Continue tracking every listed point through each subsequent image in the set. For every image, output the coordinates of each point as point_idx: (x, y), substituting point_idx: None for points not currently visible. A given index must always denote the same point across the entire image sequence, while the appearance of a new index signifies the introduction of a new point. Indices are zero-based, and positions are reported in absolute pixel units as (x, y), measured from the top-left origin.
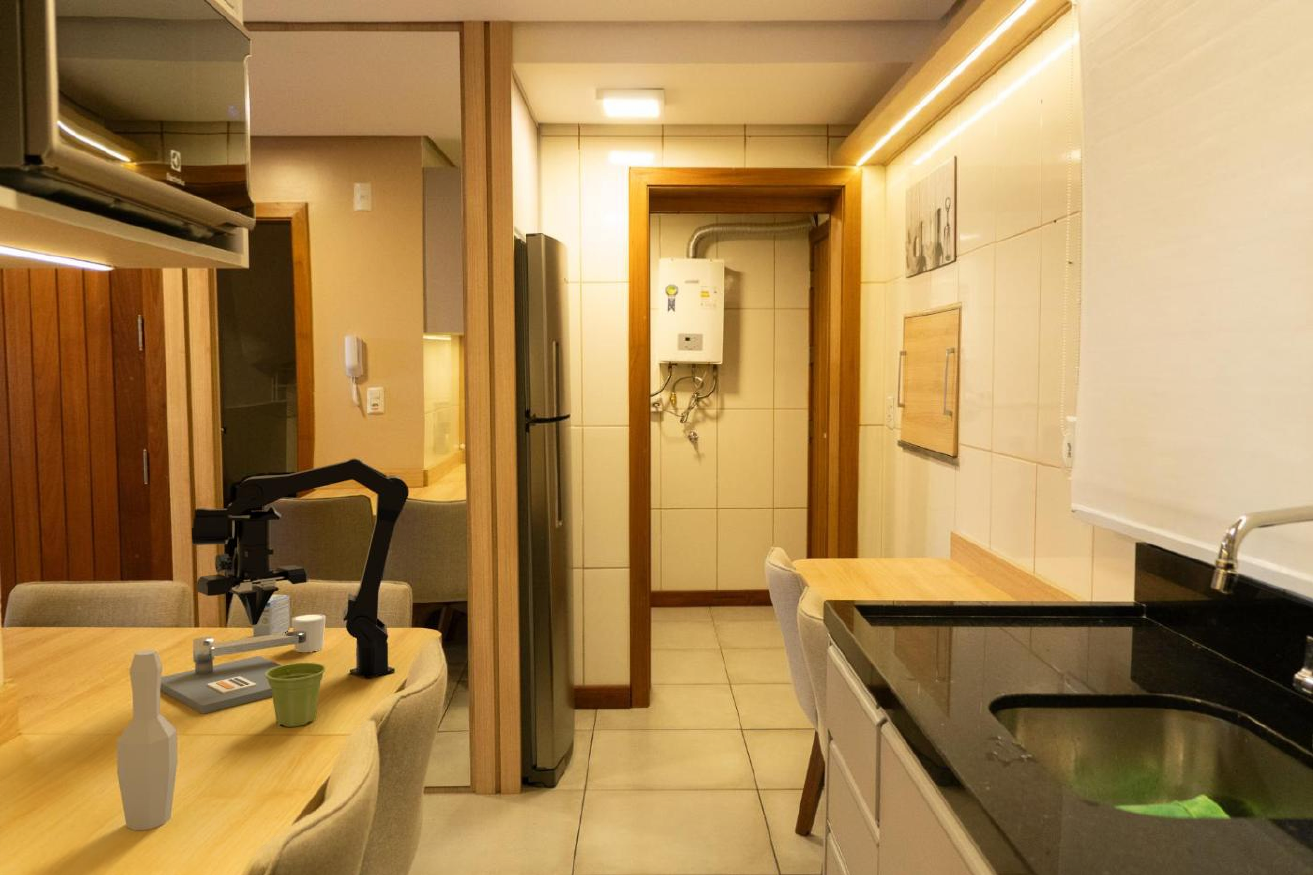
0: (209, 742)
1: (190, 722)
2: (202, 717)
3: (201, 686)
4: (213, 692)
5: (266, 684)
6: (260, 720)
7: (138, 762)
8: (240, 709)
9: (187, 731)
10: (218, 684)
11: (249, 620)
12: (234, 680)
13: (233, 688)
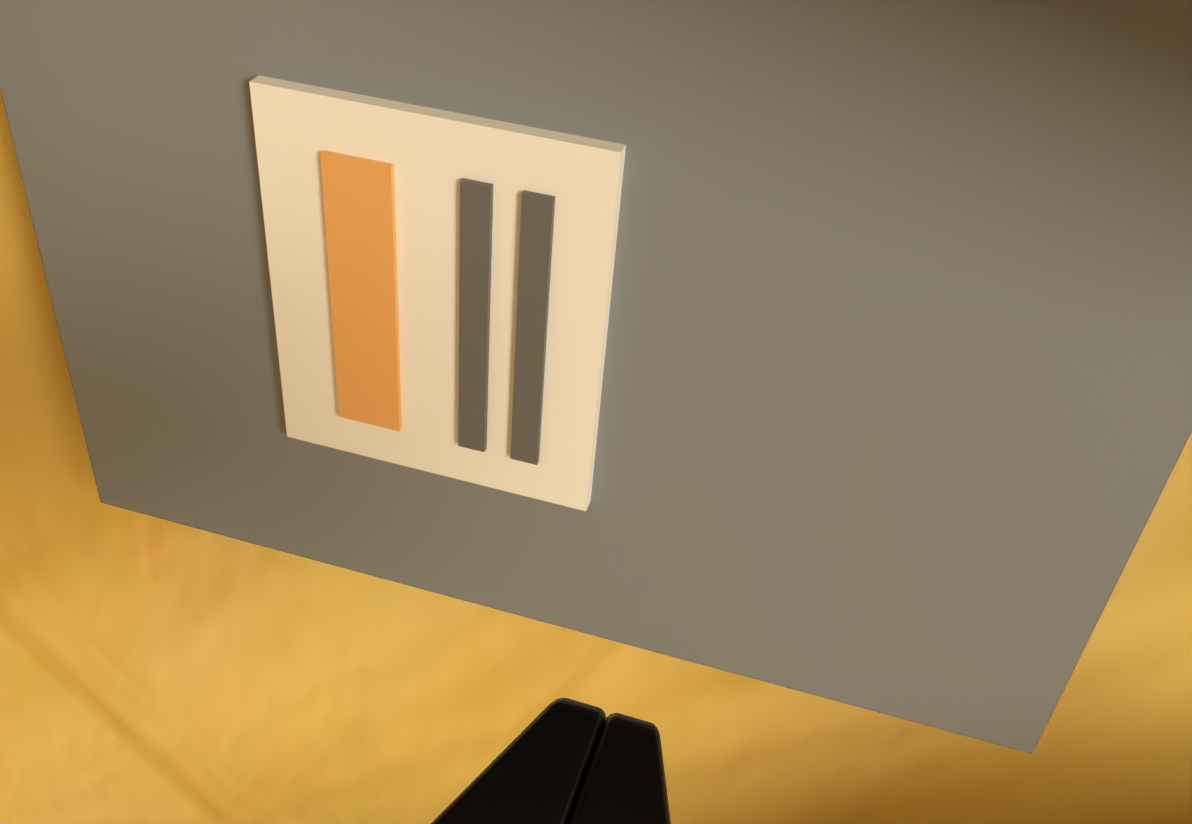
0: (80, 767)
1: (50, 507)
2: None
3: (205, 60)
4: (242, 326)
5: (664, 545)
6: (366, 790)
7: None
8: (359, 591)
9: (15, 595)
10: (327, 218)
11: (496, 771)
12: (489, 260)
13: (384, 432)
